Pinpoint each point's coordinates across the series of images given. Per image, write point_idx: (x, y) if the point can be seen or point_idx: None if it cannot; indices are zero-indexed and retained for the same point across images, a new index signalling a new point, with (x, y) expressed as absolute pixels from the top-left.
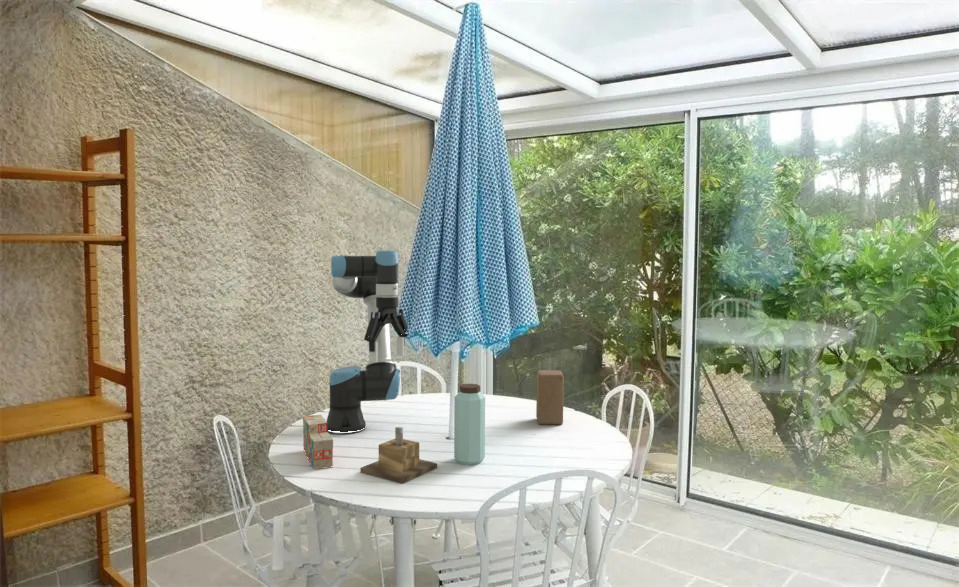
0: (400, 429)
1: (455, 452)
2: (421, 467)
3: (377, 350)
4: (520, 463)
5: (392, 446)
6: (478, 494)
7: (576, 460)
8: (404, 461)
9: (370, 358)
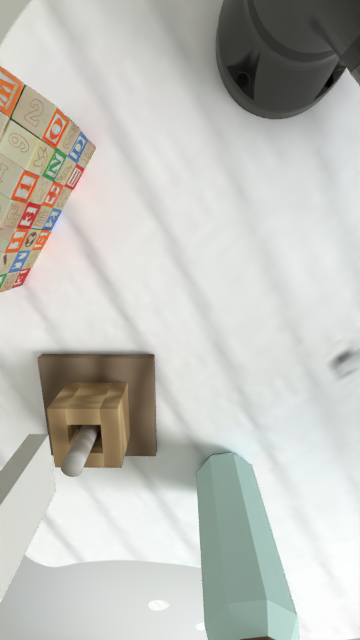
0: (68, 474)
1: (206, 470)
2: None
3: (2, 594)
4: None
5: (59, 440)
6: (99, 552)
7: (323, 593)
8: None
9: (17, 454)
